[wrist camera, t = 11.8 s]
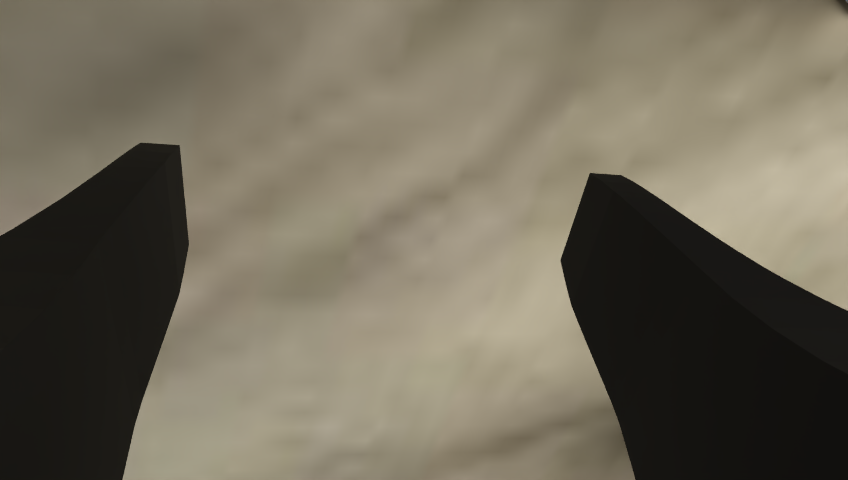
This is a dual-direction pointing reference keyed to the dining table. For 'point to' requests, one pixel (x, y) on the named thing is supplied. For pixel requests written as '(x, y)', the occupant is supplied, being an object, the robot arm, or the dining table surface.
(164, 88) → the dining table surface
